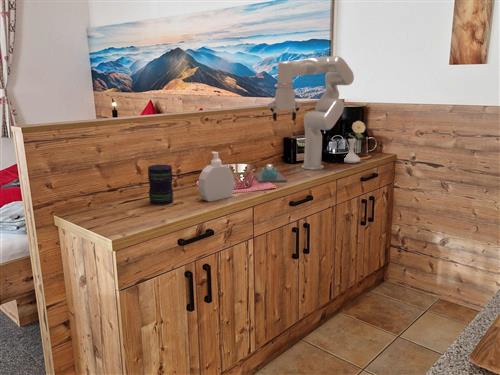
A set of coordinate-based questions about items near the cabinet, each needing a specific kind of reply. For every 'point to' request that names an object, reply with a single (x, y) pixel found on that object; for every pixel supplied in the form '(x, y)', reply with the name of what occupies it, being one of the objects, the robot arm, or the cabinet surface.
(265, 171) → the ring
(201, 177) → the soap bottle
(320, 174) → the cabinet surface
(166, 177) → the storage jar
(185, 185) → the cabinet surface
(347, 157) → the flower in vase
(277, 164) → the cabinet surface
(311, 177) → the cabinet surface
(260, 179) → the metal plate with knob
